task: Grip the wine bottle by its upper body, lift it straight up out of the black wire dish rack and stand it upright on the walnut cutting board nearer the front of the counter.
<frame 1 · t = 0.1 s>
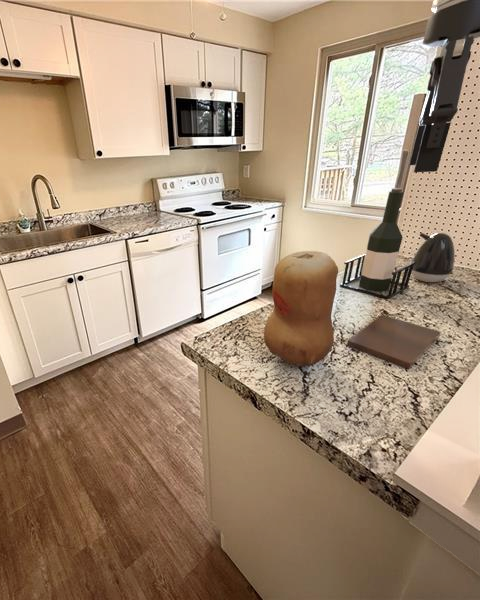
hand: (421, 168, 53), 39 cm above the countertop, tool pointing down, fingers open, 13 cm apart
butternut squash: (294, 360, 70), on the countertop
pump dispenser: (426, 280, 101), on the countertop
dish rack: (373, 286, 99), on the countertop
cutting board: (392, 341, 73), on the countertop
wine bottle: (373, 287, 99), resting in dish rack
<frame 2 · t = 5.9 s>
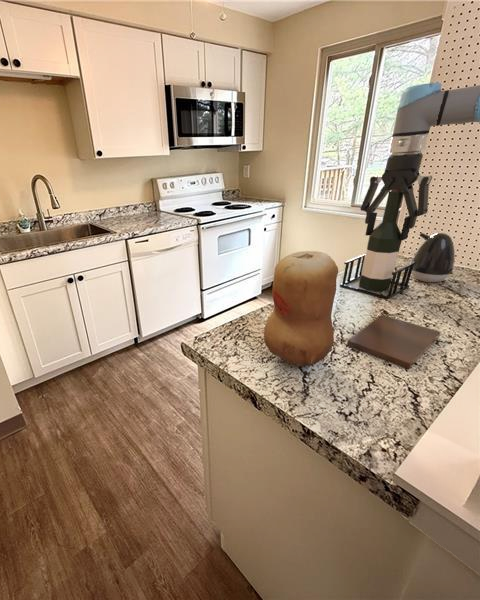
hand: (385, 236, 92), 16 cm above the countertop, tool pointing down, fingers closed on wine bottle, 8 cm apart
wine bottle: (373, 287, 99), resting in dish rack, touching gripper
everything else where it was.
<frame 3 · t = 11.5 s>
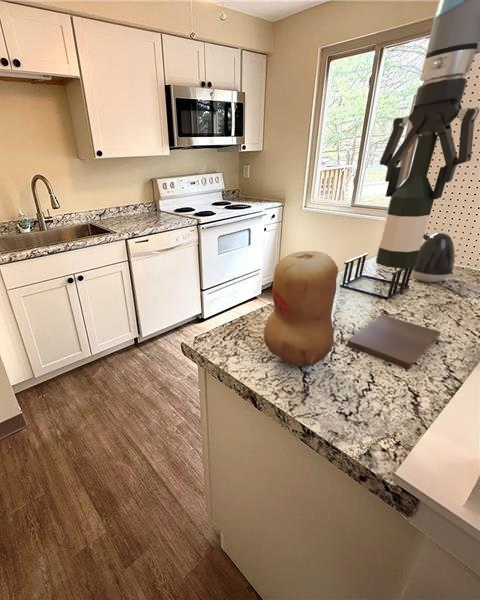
hand: (411, 196, 72), 30 cm above the countertop, tool pointing down, fingers closed on wine bottle, 8 cm apart
wine bottle: (394, 263, 79), point 14 cm above the countertop, touching gripper
everything else where it was.
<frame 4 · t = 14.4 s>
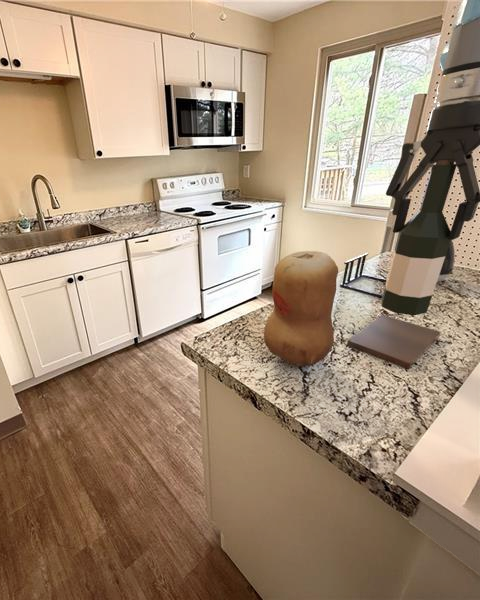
hand: (424, 234, 62), 26 cm above the countertop, tool pointing down, fingers closed on wine bottle, 8 cm apart
wine bottle: (402, 307, 69), point 9 cm above the countertop, touching gripper
everything else where it was.
when the fingers open (18 cm above the countertop, at t = 17.0 s): wine bottle stays where it is, resting on cutting board.
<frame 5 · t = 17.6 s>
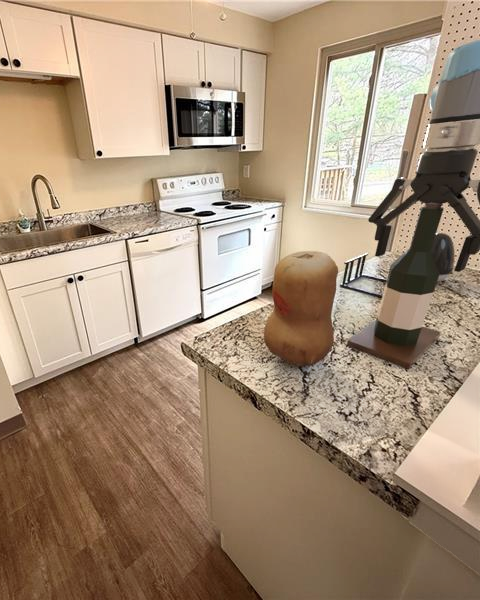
hand: (416, 262, 64), 20 cm above the countertop, tool pointing down, fingers open, 13 cm apart
wine bottle: (394, 336, 72), point 1 cm above the countertop, touching cutting board
everything else where it was.
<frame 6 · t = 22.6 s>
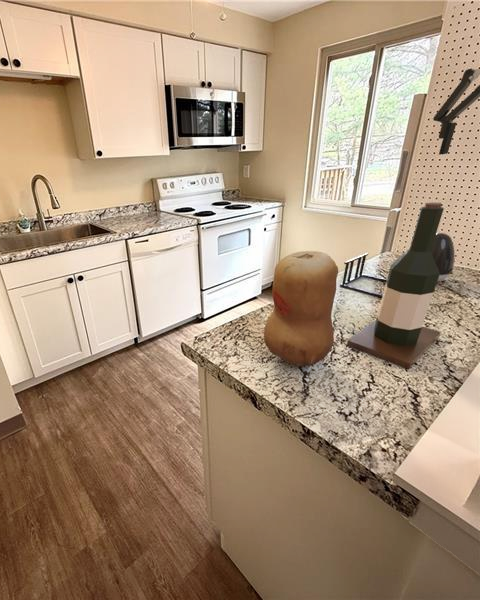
nothing on the countertop moved.
at the end: wine bottle inside the target area on the cutting board (0.0 cm from its centre), point 1.3 cm above the cutting board's base; wine bottle tilted 0°; wine bottle touching cutting board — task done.
